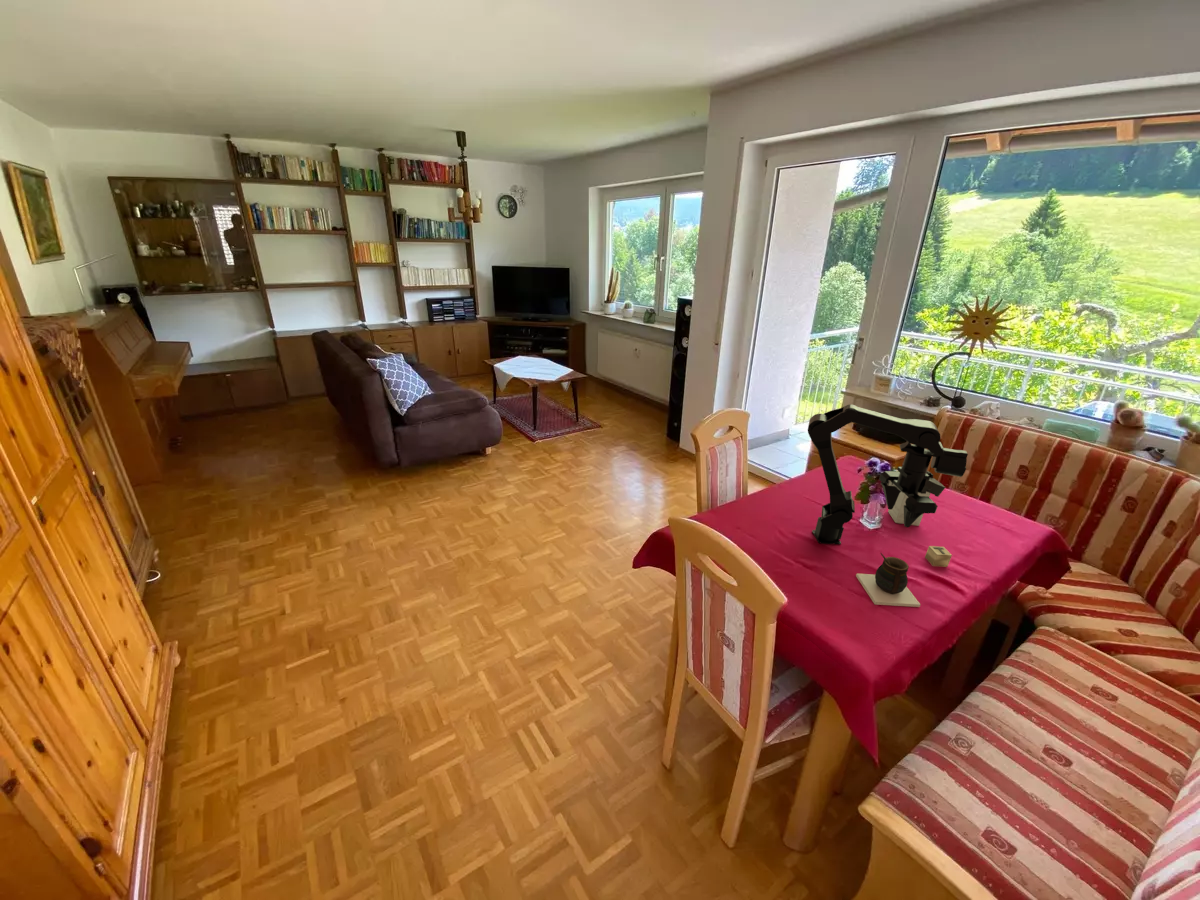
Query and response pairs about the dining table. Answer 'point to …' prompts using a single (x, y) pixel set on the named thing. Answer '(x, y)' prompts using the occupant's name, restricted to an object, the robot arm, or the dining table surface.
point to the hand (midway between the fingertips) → (898, 517)
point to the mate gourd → (892, 575)
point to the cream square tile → (883, 597)
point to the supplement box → (898, 509)
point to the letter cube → (938, 556)
